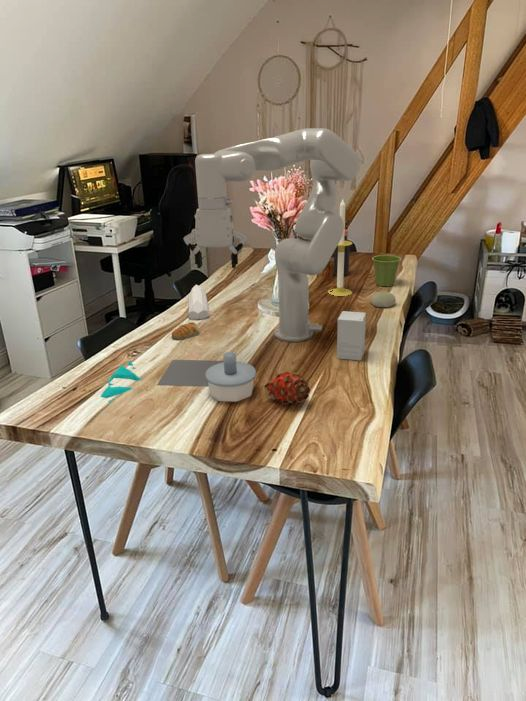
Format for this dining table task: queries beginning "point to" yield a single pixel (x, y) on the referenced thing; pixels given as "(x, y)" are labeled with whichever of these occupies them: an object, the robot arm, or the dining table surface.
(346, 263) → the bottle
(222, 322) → the dining table surface
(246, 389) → the bowl
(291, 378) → the dragon fruit
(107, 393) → the cloth
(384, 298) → the sea urchin shell
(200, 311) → the crystal
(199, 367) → the mat
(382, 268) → the plant pot
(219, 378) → the lid
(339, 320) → the supplement box
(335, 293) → the candle
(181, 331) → the pastry
